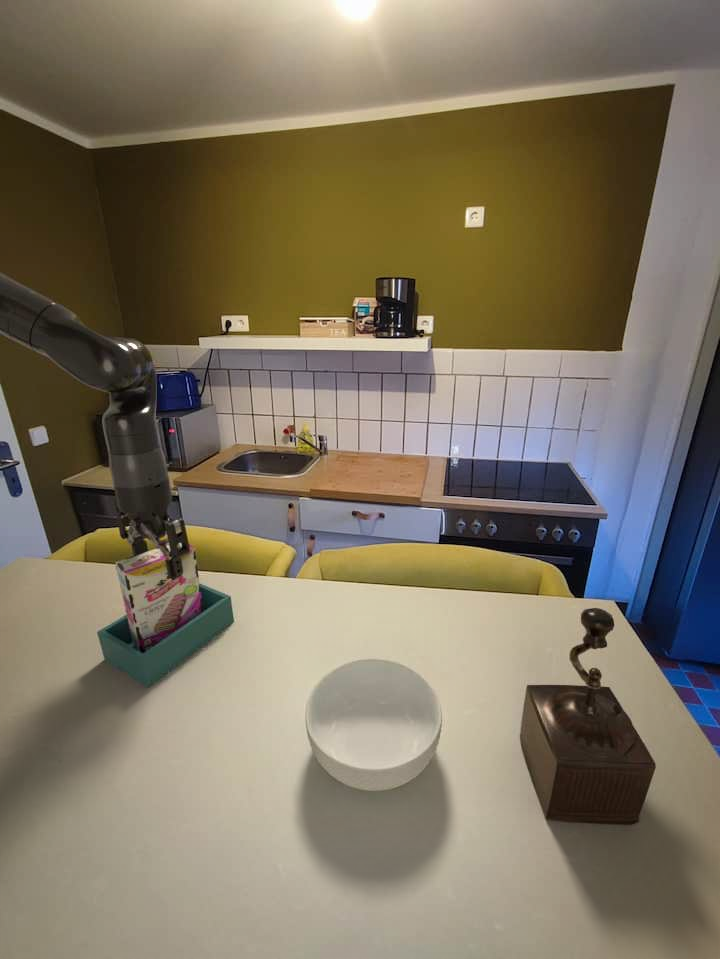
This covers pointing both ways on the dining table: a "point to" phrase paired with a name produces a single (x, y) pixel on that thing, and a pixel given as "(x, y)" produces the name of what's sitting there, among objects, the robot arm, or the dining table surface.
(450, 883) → the dining table surface
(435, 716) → the cereal bowl
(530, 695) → the manual coffee grinder
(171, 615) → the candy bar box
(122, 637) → the open rectangular box
